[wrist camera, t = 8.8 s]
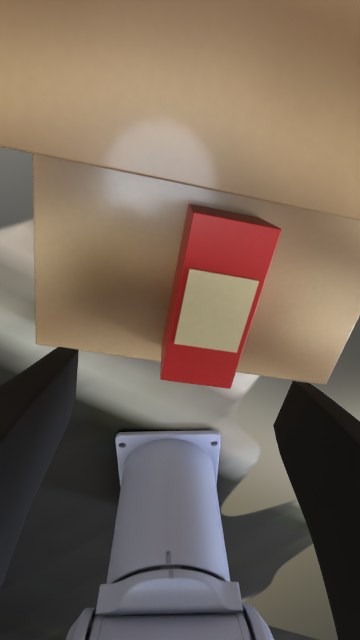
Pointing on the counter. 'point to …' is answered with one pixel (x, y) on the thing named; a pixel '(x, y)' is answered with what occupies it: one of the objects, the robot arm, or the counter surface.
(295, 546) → the counter surface
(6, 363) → the counter surface
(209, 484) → the robot arm
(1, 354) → the counter surface
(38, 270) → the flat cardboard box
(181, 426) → the counter surface
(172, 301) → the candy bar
